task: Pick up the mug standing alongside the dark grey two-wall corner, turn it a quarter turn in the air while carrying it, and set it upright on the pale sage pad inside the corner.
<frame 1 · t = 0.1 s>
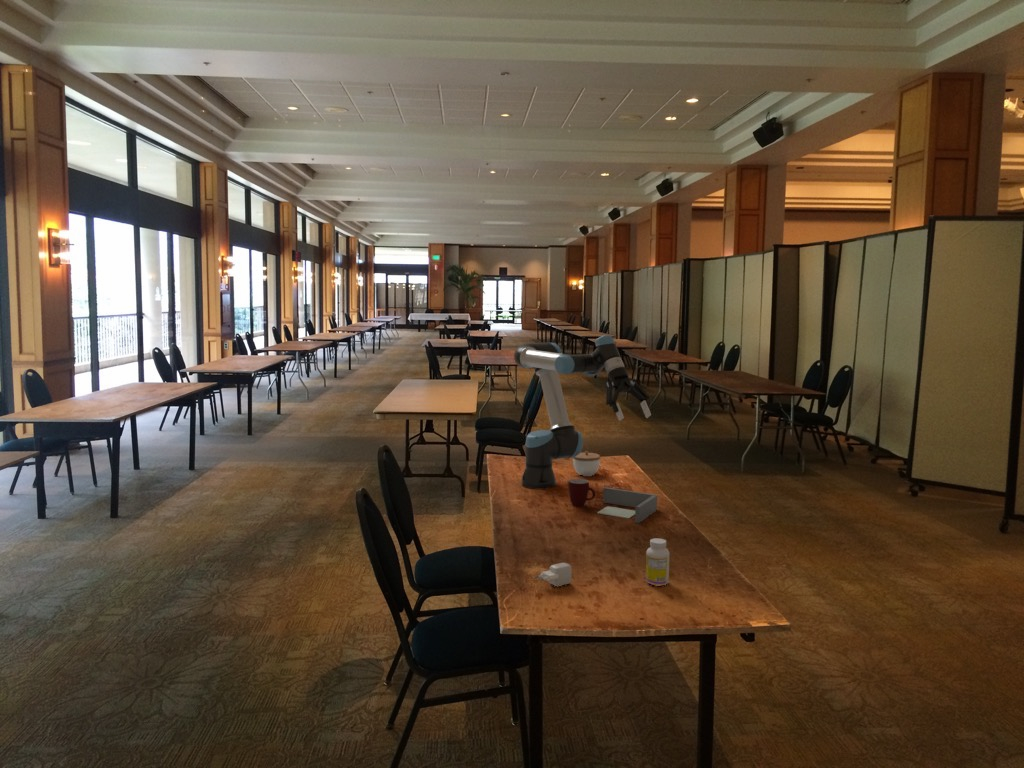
hand: (635, 417, 295), 36 cm above the table, tool tilted 35°, fingers open, 13 cm apart
mug: (581, 506, 301), on the table
supplement bottle: (656, 583, 222), on the table
white lidded pot: (586, 474, 352), on the table
power adapter: (552, 586, 220), on the table
corner arena: (617, 512, 292), on the table
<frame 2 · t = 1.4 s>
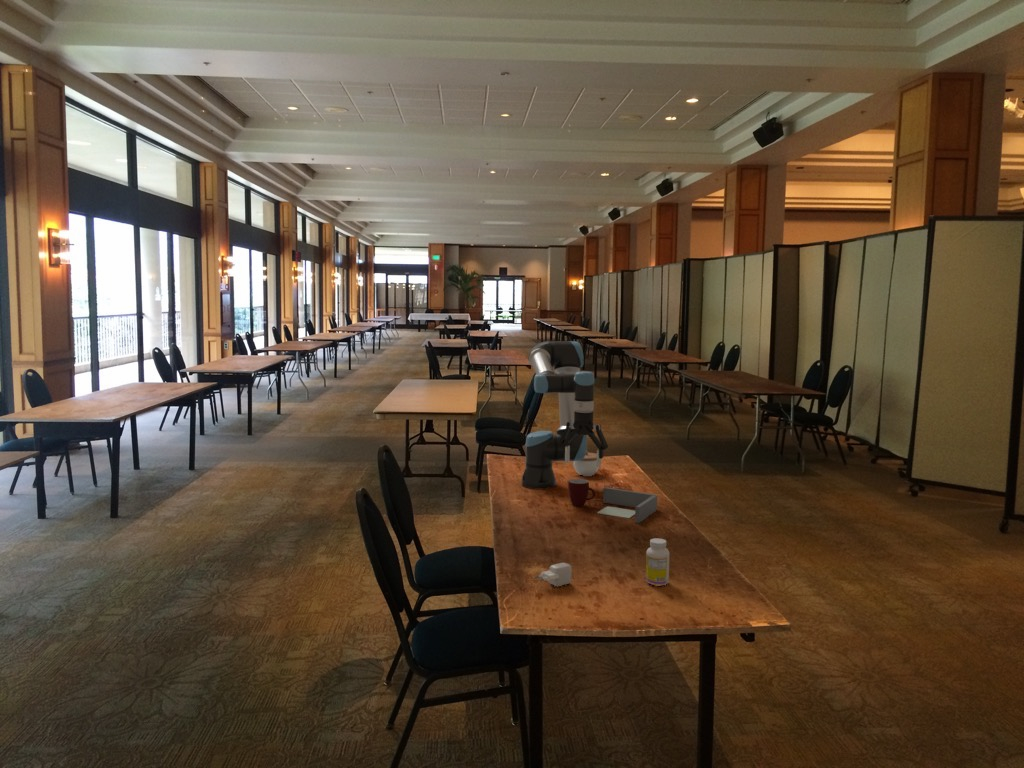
hand: (582, 464, 299), 17 cm above the table, tool pointing down, fingers open, 13 cm apart
nothing on the table moved.
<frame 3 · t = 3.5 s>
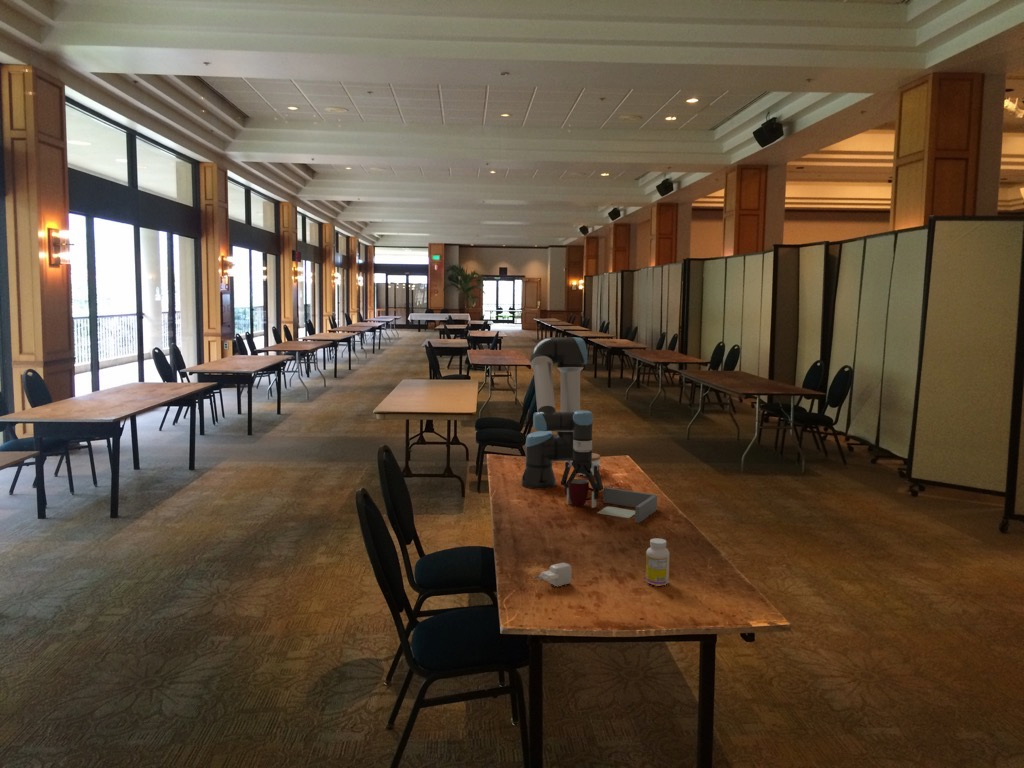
hand: (581, 505, 301), 0 cm above the table, tool pointing down, fingers closed on mug, 10 cm apart
mug: (581, 506, 301), on the table, touching gripper
everything else where it was.
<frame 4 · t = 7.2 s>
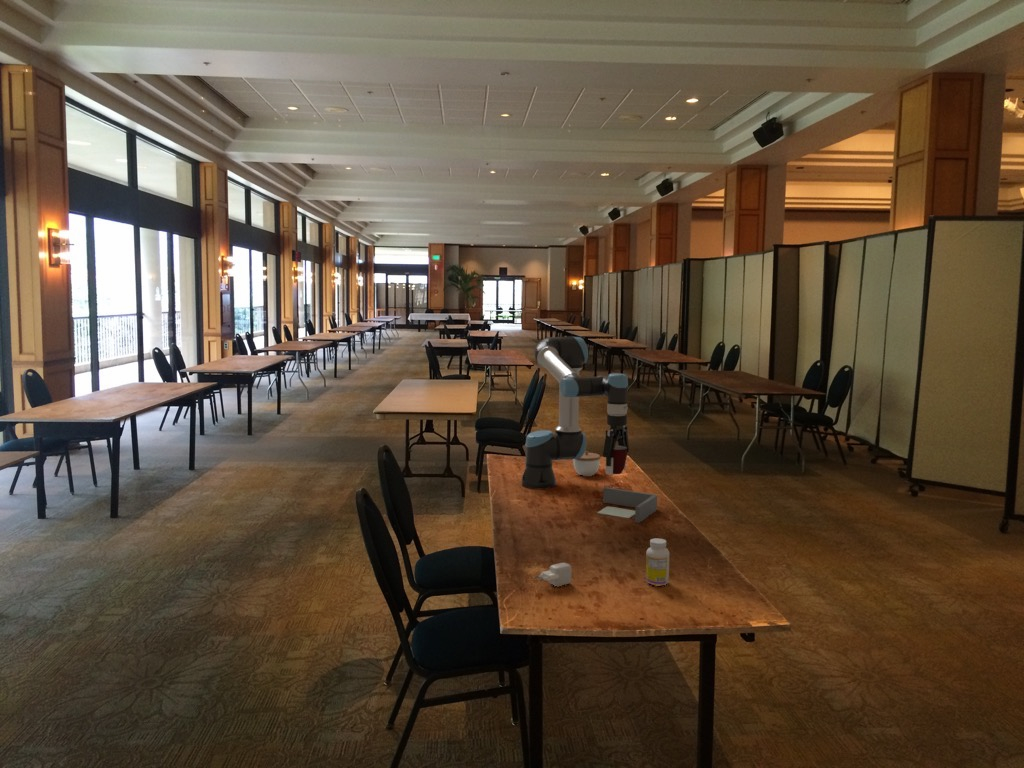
hand: (615, 471, 291), 16 cm above the table, tool pointing down, fingers closed on mug, 10 cm apart
mug: (615, 472, 291), point 16 cm above the table, touching gripper
everything else where it was.
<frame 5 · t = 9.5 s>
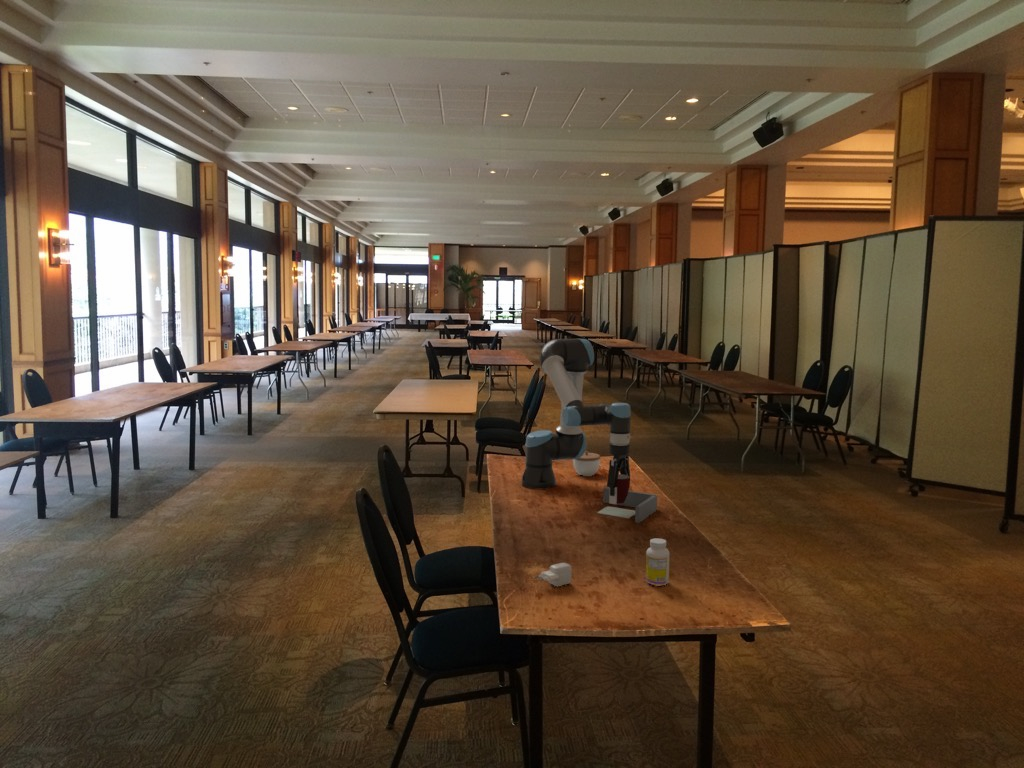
hand: (618, 500, 292), 5 cm above the table, tool pointing down, fingers closed on mug, 10 cm apart
mug: (618, 501, 292), point 4 cm above the table, touching gripper
everything else where it was.
when the fingers open (2 cm above the table, at t = 10.8 s): mug drops 1 cm, resting on corner arena.
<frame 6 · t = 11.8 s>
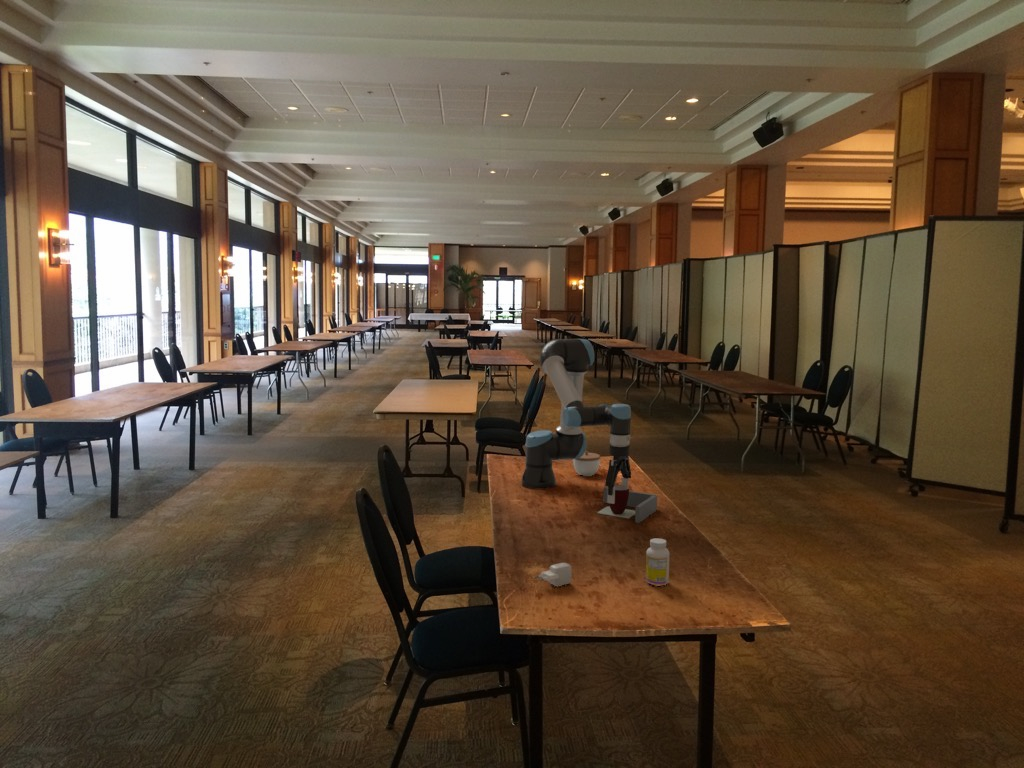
hand: (617, 498, 292), 5 cm above the table, tool pointing down, fingers open, 13 cm apart
mug: (617, 512, 292), resting on corner arena
everything else where it was.
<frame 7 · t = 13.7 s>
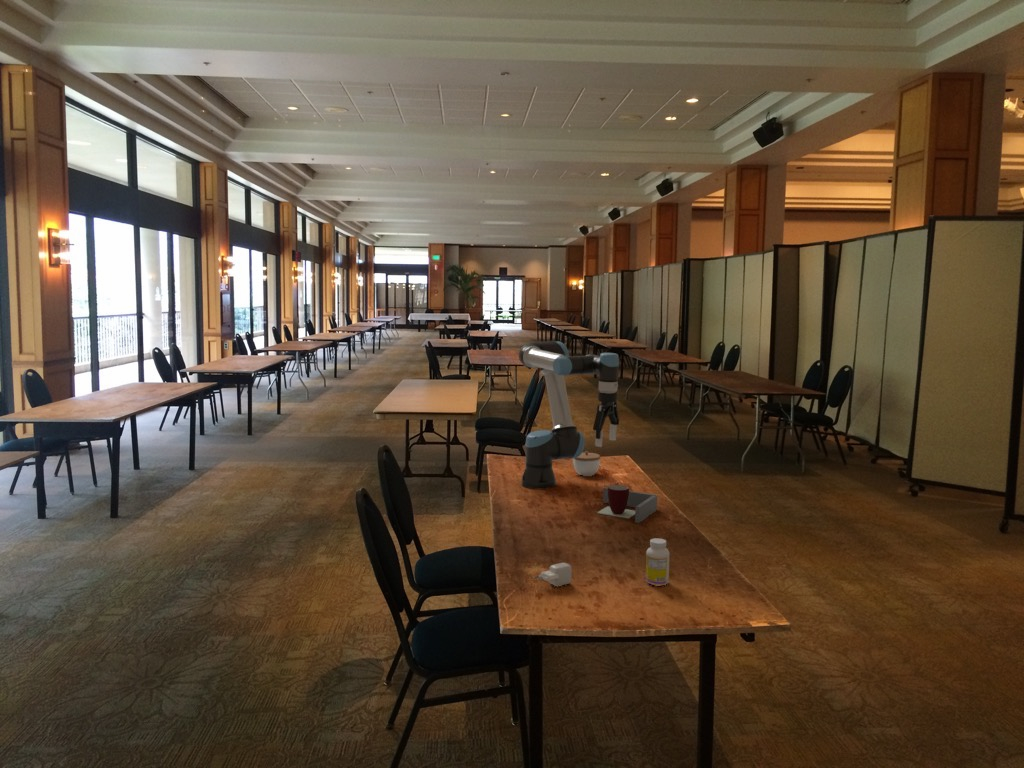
hand: (605, 443, 308), 23 cm above the table, tool pointing down, fingers open, 13 cm apart
nothing on the table moved.
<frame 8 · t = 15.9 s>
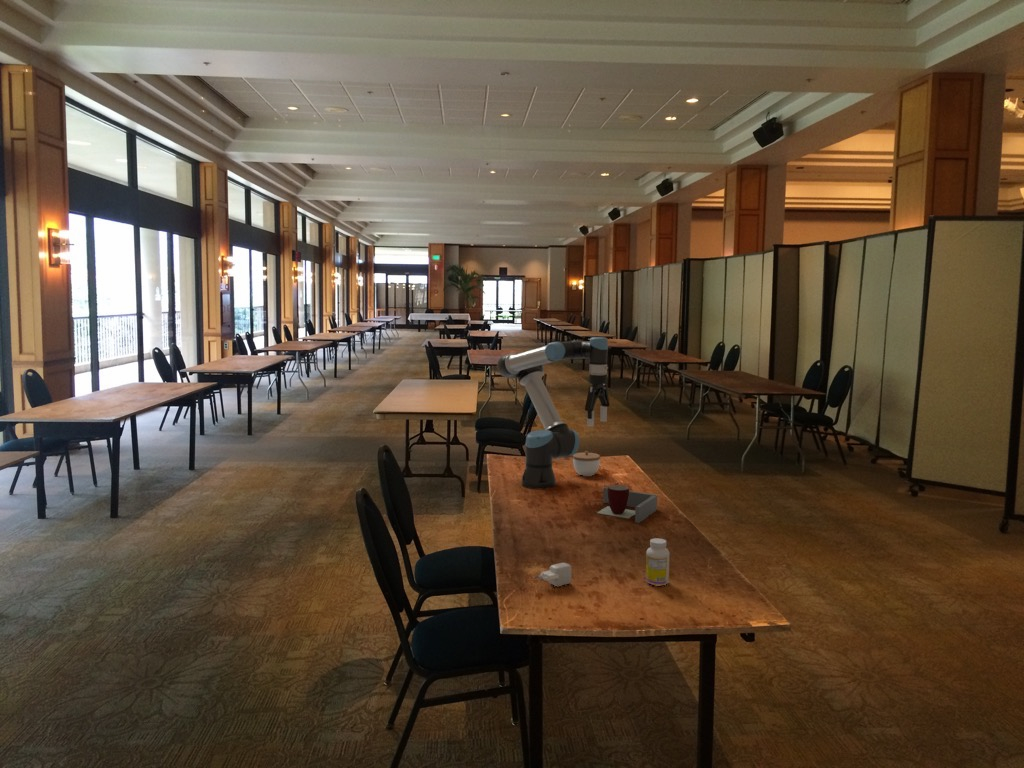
hand: (597, 423, 322), 29 cm above the table, tool pointing down, fingers open, 13 cm apart
nothing on the table moved.
at the end: mug inside the target area (0.3 cm from its centre), resting on corner arena; mug tilted 0°; the gripper is holding nothing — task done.
